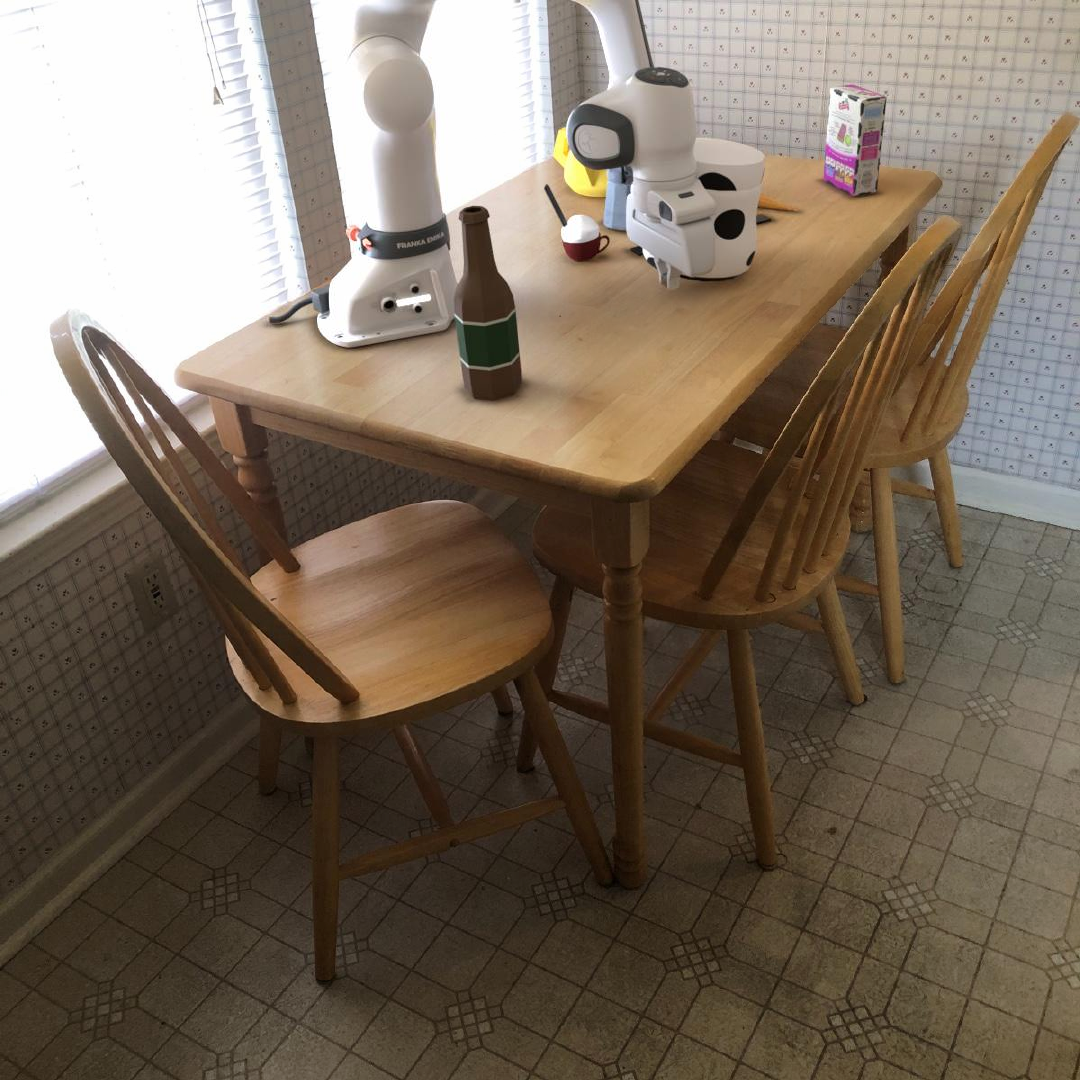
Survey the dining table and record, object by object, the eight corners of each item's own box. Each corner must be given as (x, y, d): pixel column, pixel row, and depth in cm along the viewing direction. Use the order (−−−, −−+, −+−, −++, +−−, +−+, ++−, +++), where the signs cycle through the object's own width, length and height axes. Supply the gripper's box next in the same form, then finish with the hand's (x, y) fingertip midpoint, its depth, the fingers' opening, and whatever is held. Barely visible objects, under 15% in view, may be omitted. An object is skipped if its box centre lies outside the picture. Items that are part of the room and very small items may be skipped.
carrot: (691, 202, 203) (688, 182, 199) (704, 186, 204) (701, 166, 201) (791, 229, 194) (790, 209, 190) (803, 212, 195) (803, 191, 191)
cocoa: (614, 254, 183) (611, 181, 176) (594, 268, 179) (590, 194, 172) (566, 246, 188) (561, 175, 181) (545, 259, 184) (539, 186, 177)
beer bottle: (522, 372, 151) (505, 195, 137) (523, 399, 145) (505, 217, 131) (465, 377, 151) (442, 201, 137) (463, 404, 145) (439, 223, 131)
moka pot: (658, 208, 200) (656, 91, 188) (656, 239, 187) (654, 116, 176) (604, 210, 201) (599, 94, 189) (599, 242, 188) (594, 119, 177)
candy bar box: (879, 193, 197) (888, 96, 188) (853, 198, 196) (862, 100, 187) (846, 175, 206) (853, 82, 197) (821, 180, 205) (828, 86, 196)
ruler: (639, 255, 182) (639, 253, 182) (630, 250, 184) (630, 247, 184) (771, 220, 190) (771, 218, 190) (761, 216, 193) (761, 213, 192)
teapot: (662, 192, 206) (661, 126, 200) (574, 206, 204) (570, 139, 197) (634, 167, 220) (633, 104, 213) (552, 180, 217) (548, 116, 211)
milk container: (754, 260, 178) (776, 144, 168) (746, 298, 164) (769, 174, 154) (647, 244, 181) (662, 129, 171) (630, 280, 167) (645, 157, 157)
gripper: (612, 180, 164) (618, 270, 171) (681, 216, 148) (684, 314, 155) (650, 170, 165) (655, 260, 173) (722, 206, 149) (724, 303, 157)
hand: (669, 286), depth 164 cm, fingers closed
